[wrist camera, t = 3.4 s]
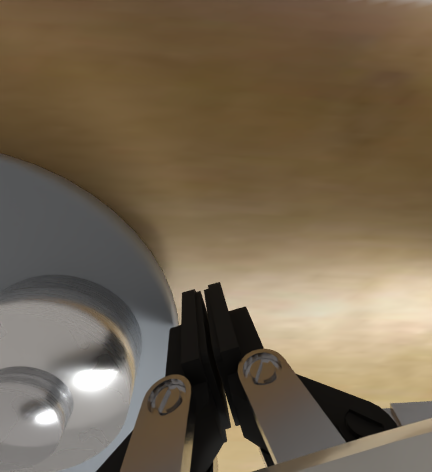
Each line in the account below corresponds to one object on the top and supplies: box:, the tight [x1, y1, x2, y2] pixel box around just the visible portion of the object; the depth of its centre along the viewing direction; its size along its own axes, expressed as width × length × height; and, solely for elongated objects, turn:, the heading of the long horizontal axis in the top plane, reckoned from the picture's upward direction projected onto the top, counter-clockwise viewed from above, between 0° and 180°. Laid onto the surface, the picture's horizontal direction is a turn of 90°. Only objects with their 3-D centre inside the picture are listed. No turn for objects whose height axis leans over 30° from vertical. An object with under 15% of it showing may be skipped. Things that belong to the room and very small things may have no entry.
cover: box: [0, 275, 142, 472], centre depth 10 cm, size 7×7×4 cm
